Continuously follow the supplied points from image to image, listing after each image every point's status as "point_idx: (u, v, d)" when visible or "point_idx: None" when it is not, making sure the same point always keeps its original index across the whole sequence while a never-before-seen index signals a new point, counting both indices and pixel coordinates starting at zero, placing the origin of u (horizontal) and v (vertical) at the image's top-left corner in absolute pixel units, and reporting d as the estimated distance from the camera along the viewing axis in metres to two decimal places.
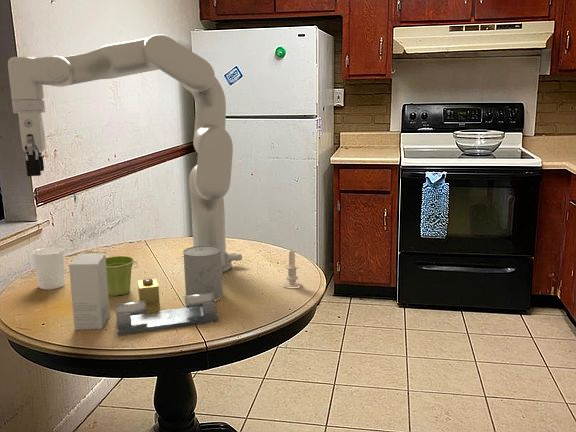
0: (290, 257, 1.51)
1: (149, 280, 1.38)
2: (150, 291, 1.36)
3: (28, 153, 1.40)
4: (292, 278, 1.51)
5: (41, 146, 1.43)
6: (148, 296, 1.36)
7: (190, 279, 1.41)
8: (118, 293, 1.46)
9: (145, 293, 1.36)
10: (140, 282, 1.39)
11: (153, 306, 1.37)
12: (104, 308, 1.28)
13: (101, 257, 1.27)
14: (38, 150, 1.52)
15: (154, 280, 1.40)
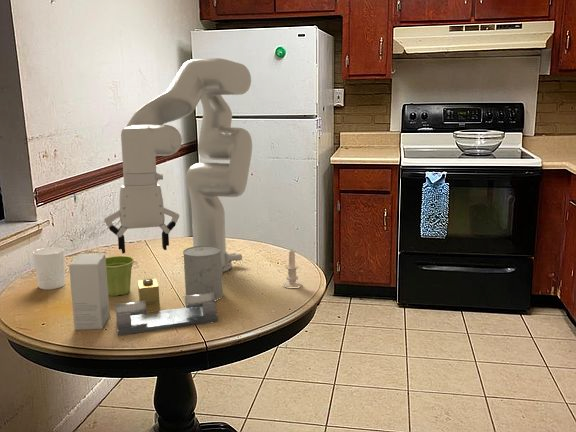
0: (290, 257, 1.51)
1: (149, 280, 1.38)
2: (150, 291, 1.36)
3: (175, 224, 1.37)
4: (292, 278, 1.51)
5: None
6: (148, 296, 1.36)
7: (190, 279, 1.41)
8: (118, 293, 1.46)
9: (145, 293, 1.35)
10: (140, 282, 1.39)
11: (153, 306, 1.37)
12: (104, 308, 1.28)
13: (101, 257, 1.27)
14: (118, 229, 1.34)
15: (154, 280, 1.40)
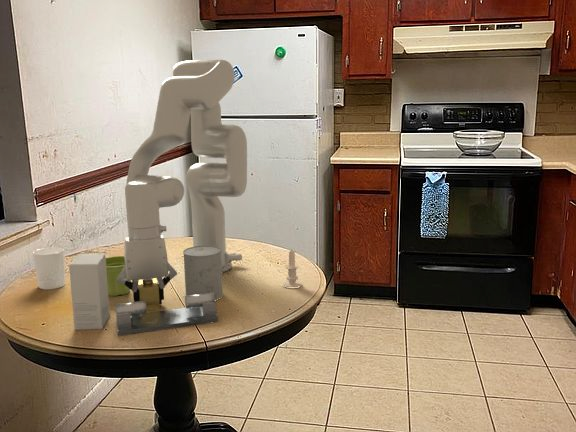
0: (290, 257, 1.51)
1: (149, 280, 1.38)
2: (150, 291, 1.36)
3: (170, 279, 1.39)
4: (292, 278, 1.51)
5: None
6: (148, 296, 1.36)
7: (190, 279, 1.41)
8: (118, 293, 1.46)
9: (145, 293, 1.35)
10: (140, 282, 1.39)
11: (153, 306, 1.37)
12: (104, 308, 1.28)
13: (101, 257, 1.27)
14: None
15: (154, 280, 1.40)
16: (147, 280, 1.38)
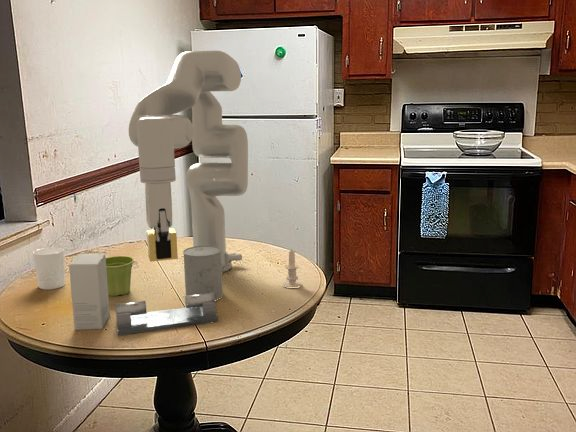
0: (290, 257, 1.51)
1: None
2: None
3: None
4: (292, 278, 1.51)
5: None
6: None
7: (190, 279, 1.41)
8: (118, 293, 1.46)
9: None
10: (155, 234, 1.23)
11: None
12: (104, 308, 1.28)
13: (101, 257, 1.27)
14: (160, 236, 1.22)
15: (153, 230, 1.27)
16: None
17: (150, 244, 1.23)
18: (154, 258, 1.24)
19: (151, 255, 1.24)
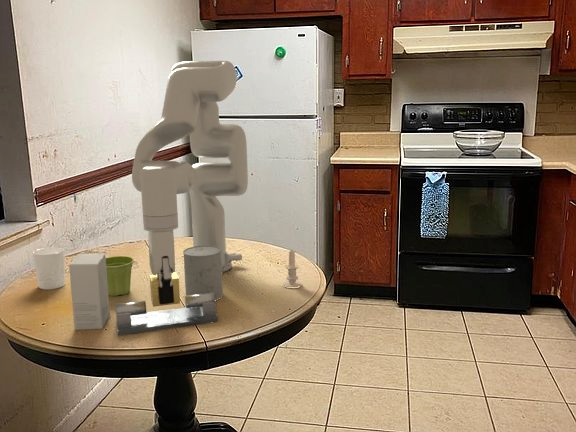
0: (290, 257, 1.51)
1: None
2: None
3: None
4: (292, 278, 1.51)
5: None
6: None
7: (190, 279, 1.41)
8: (118, 293, 1.46)
9: None
10: (157, 279, 1.26)
11: None
12: (104, 308, 1.28)
13: (101, 257, 1.27)
14: None
15: None
16: None
17: (153, 290, 1.25)
18: (157, 303, 1.26)
19: (154, 300, 1.26)
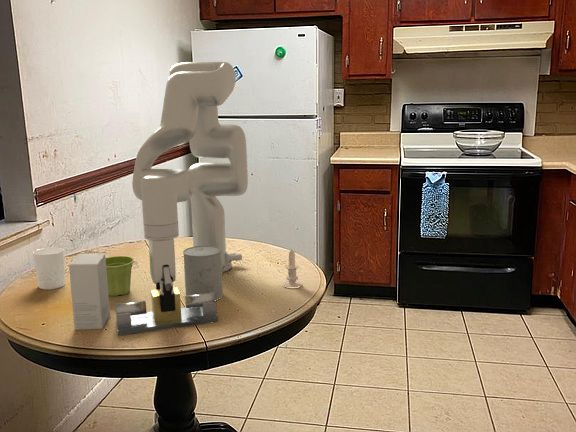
0: (290, 257, 1.51)
1: None
2: None
3: None
4: (292, 278, 1.51)
5: None
6: None
7: (190, 279, 1.41)
8: (118, 293, 1.46)
9: None
10: (159, 295, 1.27)
11: None
12: (104, 308, 1.28)
13: (101, 257, 1.27)
14: None
15: (157, 290, 1.30)
16: None
17: (155, 305, 1.26)
18: (158, 318, 1.27)
19: (155, 316, 1.27)
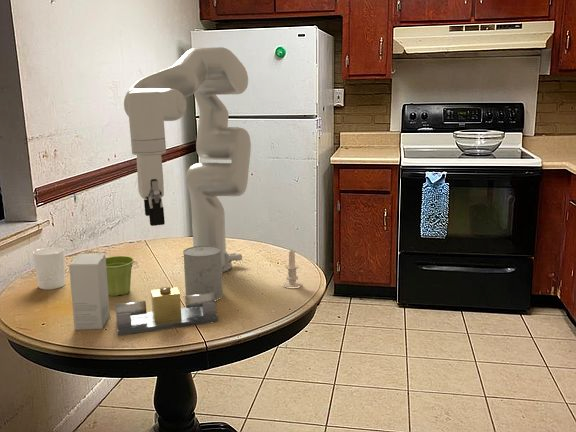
0: (290, 257, 1.51)
1: (166, 287, 1.29)
2: None
3: None
4: (292, 278, 1.51)
5: None
6: None
7: (190, 279, 1.41)
8: (118, 293, 1.46)
9: None
10: (159, 295, 1.27)
11: None
12: (104, 308, 1.28)
13: (101, 257, 1.27)
14: (152, 202, 1.25)
15: (157, 290, 1.30)
16: (166, 288, 1.29)
17: (155, 305, 1.26)
18: (158, 318, 1.27)
19: (155, 316, 1.27)
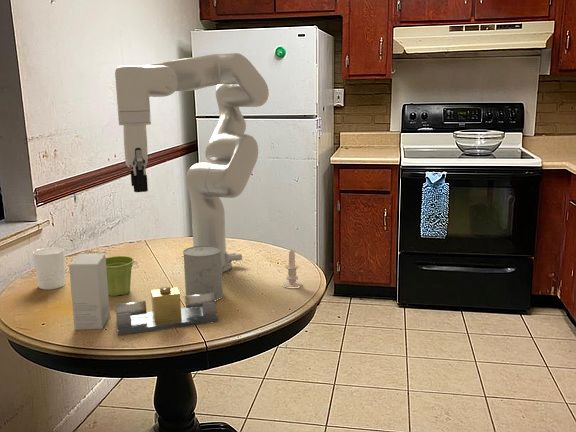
0: (290, 257, 1.51)
1: (166, 287, 1.29)
2: None
3: None
4: (292, 278, 1.51)
5: None
6: None
7: (190, 279, 1.41)
8: (118, 293, 1.46)
9: None
10: (159, 295, 1.27)
11: None
12: (104, 308, 1.28)
13: (101, 257, 1.27)
14: None
15: (157, 290, 1.30)
16: (166, 288, 1.29)
17: (155, 305, 1.26)
18: (158, 318, 1.27)
19: (155, 316, 1.27)
